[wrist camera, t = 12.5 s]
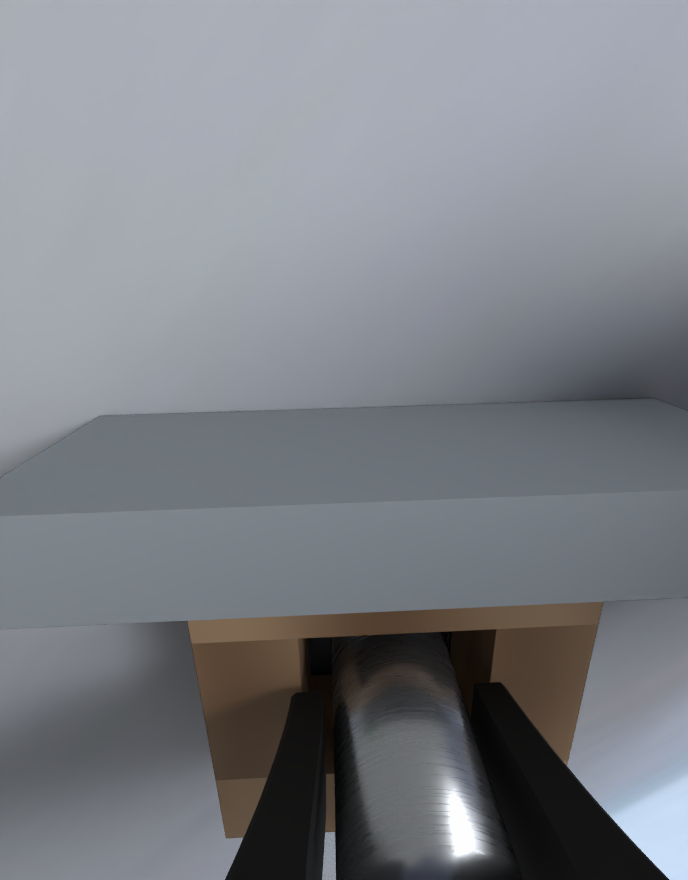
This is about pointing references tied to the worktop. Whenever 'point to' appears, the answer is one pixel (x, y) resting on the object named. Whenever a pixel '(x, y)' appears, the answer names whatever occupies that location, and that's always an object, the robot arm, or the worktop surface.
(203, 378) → the worktop surface
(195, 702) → the worktop surface
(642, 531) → the wall
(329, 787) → the block
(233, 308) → the worktop surface
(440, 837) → the dowel
